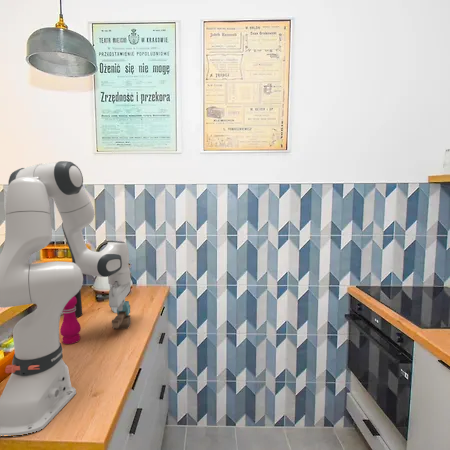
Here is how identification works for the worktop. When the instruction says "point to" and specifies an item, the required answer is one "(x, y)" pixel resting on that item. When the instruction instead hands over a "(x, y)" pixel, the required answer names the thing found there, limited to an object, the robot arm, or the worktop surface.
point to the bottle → (78, 304)
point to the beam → (121, 321)
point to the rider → (125, 308)
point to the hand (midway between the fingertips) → (121, 309)
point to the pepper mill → (70, 323)
